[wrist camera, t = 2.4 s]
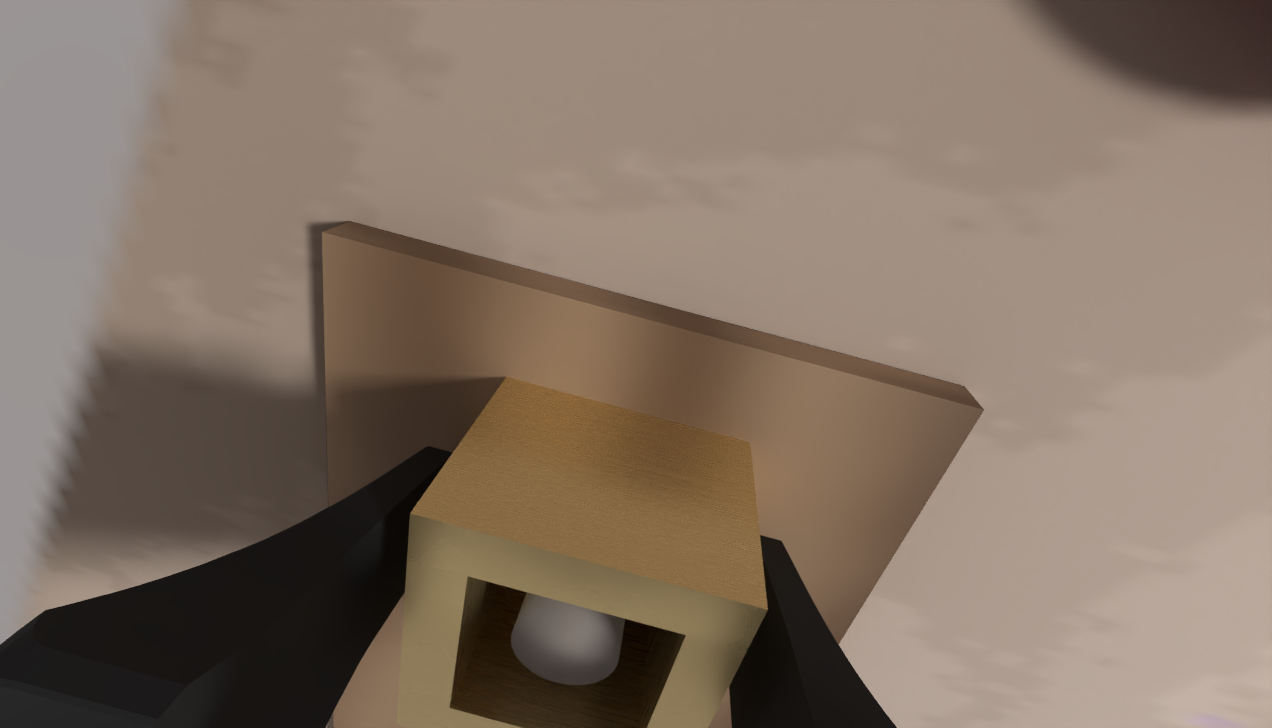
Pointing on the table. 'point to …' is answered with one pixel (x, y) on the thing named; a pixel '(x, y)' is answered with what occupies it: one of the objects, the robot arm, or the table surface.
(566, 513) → the collar
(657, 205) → the table surface
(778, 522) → the board
